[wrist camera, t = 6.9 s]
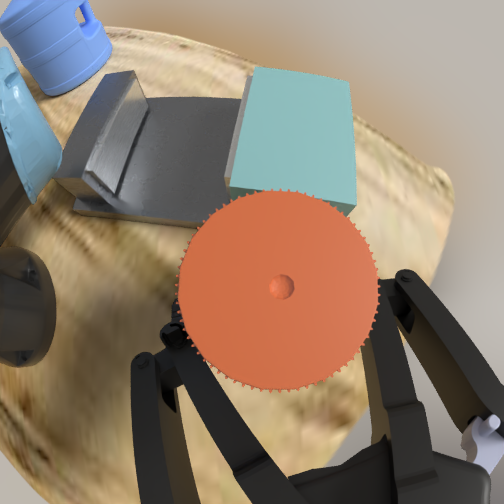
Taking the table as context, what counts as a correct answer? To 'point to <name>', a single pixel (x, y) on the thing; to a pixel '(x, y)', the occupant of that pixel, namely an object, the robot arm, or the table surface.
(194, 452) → the table surface
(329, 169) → the block
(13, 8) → the water jug
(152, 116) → the vise base
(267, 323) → the vinegar
